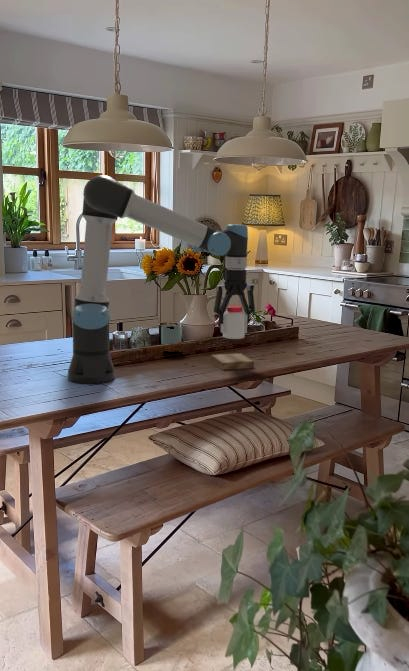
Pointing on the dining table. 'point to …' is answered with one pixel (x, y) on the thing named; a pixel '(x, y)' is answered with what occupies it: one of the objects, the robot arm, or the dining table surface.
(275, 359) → the dining table surface
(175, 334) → the pale green box
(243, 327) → the pill bottle
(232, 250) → the robot arm
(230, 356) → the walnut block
